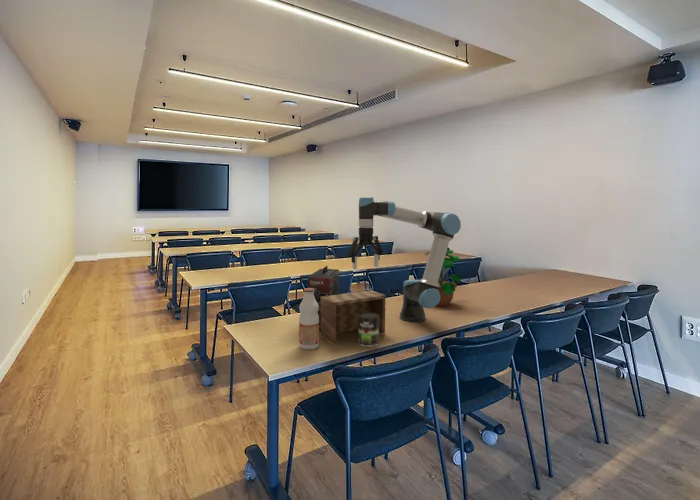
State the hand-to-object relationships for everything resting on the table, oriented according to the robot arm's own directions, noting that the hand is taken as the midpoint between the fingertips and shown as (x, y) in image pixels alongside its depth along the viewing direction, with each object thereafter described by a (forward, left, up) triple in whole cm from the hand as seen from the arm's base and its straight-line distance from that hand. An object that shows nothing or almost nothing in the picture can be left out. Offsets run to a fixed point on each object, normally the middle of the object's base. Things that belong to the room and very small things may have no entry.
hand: (365, 267), depth 202 cm
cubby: (+8, +1, -35) cm, 35 cm away
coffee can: (+8, +15, -35) cm, 39 cm away
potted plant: (-77, -18, -35) cm, 86 cm away
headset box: (+13, -22, -35) cm, 43 cm away
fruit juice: (+35, +5, -35) cm, 49 cm away
